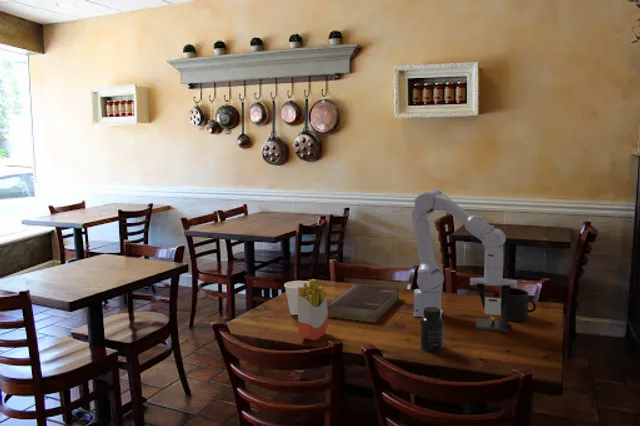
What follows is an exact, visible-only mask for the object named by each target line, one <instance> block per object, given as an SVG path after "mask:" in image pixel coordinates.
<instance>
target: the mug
mask: <svg viewBox="0 0 640 426" xmlns="http://www.w3.org/2000/svg"><path fill="white" fill-rule="evenodd" d="M498 294H499V296H498V298H499V299H501V298H502V288H501V289H499V293H498ZM529 294H530V293H529V292H528V291H527V290H526V289H525V290H524V289H522V288H518V287H517V288H514V287H510V291H509V293H508V295H507V297H506V299H505V302H504V306H503V309H501V315H498V317H499V318H501V319H503V320H505V321H508V322H522V321H523V322H524V321H526V320H527V319H528V318H529V313H533V312H534V311H536V309H537V304H536V302H535V301H534V300H532V299H530V298H529ZM529 303H530V304H532V306H533V308H532V309H529Z"/></svg>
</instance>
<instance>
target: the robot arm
mask: <svg viewBox="0 0 640 426" xmlns="http://www.w3.org/2000/svg"><path fill="white" fill-rule="evenodd" d="M413 202H414V206H413V209H412V213H411V219H412V225H413V230H414V231H413V232H414V237H415V241H416V246H417V247H416V248H417V253H418V258H419V267H418V270H417V278H416V285H417V287H418V288H416V289H414V293H413V316H412V317H419V318H420V317H421V318H422V317H424V315H423V313H424V308H426V307H436V308H439V309H440V317H441V318H442V315H443V312H444V310H443V309H442V288H441V287H442V285H443V283H444V281H445V276H444V273H443V272H442V270H441V267H440V265H439V263H438V262H436V261H437V260H436V257H435V256H436V255H435V252H434V245H433V239H432V233H431V229H430V228H431V227H430V222H429V218H430V216H431V215H432V214H433V212H435V211H444V212H446V213H448V214H449V215H451V216H453V217H454V218H455V219H456V220H458V221H460V222H461V223H463V225H464V229H465V230H466V231H468V232H469V233H470V234H471V235H473V236H474V237H475V238H476V239H478V240H480V241H481V243H482V246H483V247H484V263H483V264H484V272H483V273H484V274H483V276H484V277H470V278H469V285H470V286H474V285H475V286H476V290H477V293H478V294H479V297H480V300H481V304H482V308H485V298H486V296H485V291H486V290H485V289H486V287H485V286H488V287H489V286H491V287H501V289H502V298H501V309H503V306H504V302H505V299H506V297H507V295H508V293H509V291H510V288H517V289H518V280H514V279H507V278H503V275H504V273H503V272H504V245H505V243H506V241H507V237H506V234H505V232H504V231H503V230H502V229H500V228H495V226H494V225H490V224H489V223H487V222H486V221H485V220H483V218H484V217H482V216H481V215H479V216H478V215H477V214H475V215H471V214H470V213H468V212H467V211H466V210H464V209H463V207H461V206H459V205H458V204H457V203H456V202H455V201H453V199H451V198H450V197H449V196H448V195H447V194H446V193H443V192H442V191H441V190H439V189H433V190H428V191H422V192H420V193H419V194H418V195H417V196H416V197H415V199H414V201H413Z"/></svg>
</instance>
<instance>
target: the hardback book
mask: <svg viewBox="0 0 640 426" xmlns="http://www.w3.org/2000/svg"><path fill="white" fill-rule="evenodd" d="M398 300H400V287H396V286H395V287H394V286H381V285H368V284H367V285H366V284H353V285H351V286H350V287H349V288H347V289H346V290H345V291H343V292H342V293H340V294H339V295H338V296H336V297H335V298H333V299H332V300H331V301H329V302H327V310H328V316H332V317H331V318H333V317H339V318H338V319H341V318H345V319H344V320H349V319H352V320H351V321H356V320H359V321H358V322H364V321H366V323H373V324H375V323H376V322H377V321H378V320H379V319H380V318H382V316H384V315H385V313H386V312H387V311H388V310H389V309H391V307H392V306H394V305H395V304H396V302H398Z"/></svg>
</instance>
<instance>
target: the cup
mask: <svg viewBox="0 0 640 426" xmlns="http://www.w3.org/2000/svg"><path fill="white" fill-rule="evenodd" d="M304 283H307V287H308V285H309V281H307V280H292V281H287V282H285V283H284V288H285V293H286V298H287V302H288V309H289V313H290V315H291V316H293V315H298V298H297V296H298V295H299V294H298V287H304Z"/></svg>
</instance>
